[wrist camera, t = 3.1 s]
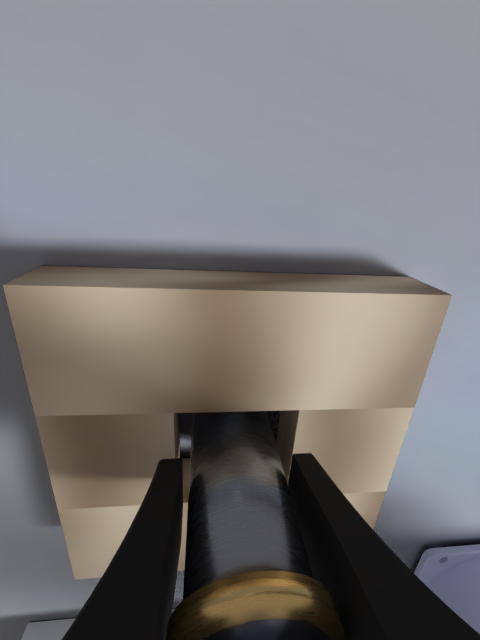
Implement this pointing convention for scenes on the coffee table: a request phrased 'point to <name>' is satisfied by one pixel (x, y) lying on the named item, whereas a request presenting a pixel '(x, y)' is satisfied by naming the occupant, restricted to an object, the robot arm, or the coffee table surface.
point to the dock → (48, 629)
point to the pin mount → (213, 378)
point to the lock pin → (245, 542)
